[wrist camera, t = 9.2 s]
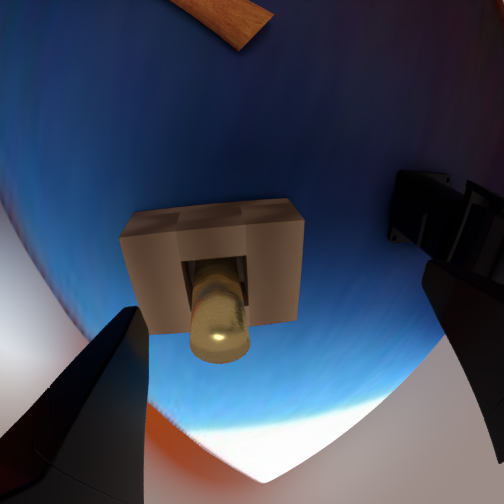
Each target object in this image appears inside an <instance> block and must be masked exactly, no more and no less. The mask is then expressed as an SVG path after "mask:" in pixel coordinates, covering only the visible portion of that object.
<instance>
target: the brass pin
mask: <svg viewBox="0 0 504 504" xmlns="http://www.w3.org/2000/svg"><path fill="white" fill-rule="evenodd" d="M249 347H250V338H249V332H248V326H247V320H246V314H245V309H244V303H243V296H242V290H241V284H240V278H239V272H238V266H237V259H236V256H233V257H223V258H212V259H202V260H195V268H194V281H193V295H192V310H191V328H190V348H191V351H192V352H193V354H194V355H195V356H196V357H198V358H199V359H201V360H203V361H206V362H209V363H215V364H223V363H229V362H233V361H236V360H238V359H240V358H241V357H243V356H244V355H245V354H246V353H247V351H248V350H249Z"/></svg>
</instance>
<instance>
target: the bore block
mask: <svg viewBox="0 0 504 504" xmlns="http://www.w3.org/2000/svg"><path fill="white" fill-rule="evenodd" d="M304 223H305V220H304V219H303V217H302V216H301V215H300V214H299V212H298V211H297V210H296V208H295V207H294V206H293V204H292V203H291V202H290V201H289V199H288V198H282V199H266V200H252V201H238V202H226V203H215V204H204V205H194V206H184V207H175V208H166V209H158V210H150V211H142V212H134V213H133V215H132V217H131V218H130V220H129V221H128V223H127V225H126V226H125V228H124V230H123V231H122V233H121V235H120V236H119V241H120V244H121V248H122V252H123V256H124V259H125V263H126V266H127V270H128V273H129V276H130V280H131V283H132V286H133V289H134V293H135V296H136V299H137V302H138V305H139V308H140V310H141V312H142V315H143V317H144V319H145V322H146V324H147V327H148V330H149V335H153V334H171V333H186V332H190V328H191V310H192V295H193V281H194V268H195V260H202V259H212V258H223V257H233V256H236V259H237V266H238V272H239V278H240V284H241V290H242V296H243V303H244V309H245V314H246V320H247V326H248V327H250V326H258V325H266V324H274V323H281V322H289V321H295V320H297V313H298V302H299V291H300V280H301V267H302V254H303V239H304Z"/></svg>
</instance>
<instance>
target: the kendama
mask: <svg viewBox="0 0 504 504" xmlns="http://www.w3.org/2000/svg"><path fill="white" fill-rule="evenodd" d="M170 1H171V2H173V3H174V4H176V5H177V6H179V7H180V8H182V9H183V10H185V11H186V12H188V13H189V14H191V15H192V16H194V17H195V18H196V19H198V20H199V21H200V22H202V23H203V24H205V25H206V26H207V27H209V28H210V29H211V30H212V31H214V32H215V33H216V34H218V35H219V36H220V37H221V38H223V39H224V40H225V41H226V42H228V43H229V44H230V45H231V46H233V47H234V48H235V49H236V50H237V51H240V50H241V49H242V48H243V47H244V46H245V45H246V43H247V42H248V41H249V40H250V39H251V38H252V37H253V36H254V35H255V34H256V33H257V32H258V31H259V30H260V29H261V28H262V27H263V26H264V25H265V24H266V23H267V22H268V21H269V20H270V19H271V18H272V16H273V15H274V14H272V13H271V12H269V11H267V10H265V9H263V8H262V7H260V6H258V5H256V4H254V3H252V2H250V1H248V0H170Z"/></svg>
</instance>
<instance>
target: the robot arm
mask: <svg viewBox="0 0 504 504" xmlns="http://www.w3.org/2000/svg"><path fill="white" fill-rule="evenodd" d="M403 175H404V178H403ZM446 179H447V180H446ZM450 184H451V176H450V175H448V174H445V173H435V172H424V171H410V170H401V171H400V172H399V173H398V176H397V184H396V191H395V198H394V204H393V210H392V216H391V221H390V227H389V232H388V240H389V241H390V242H391V243H400V242H409V241H411V242H412V243H413V244H414V245H415V246H417V247H419V248H420V249H422V250H423V251H424V252H425V253H426V254H427V255H428V256H429V257H431V258H432V260H429V261H428V262H427V264H426V267H425V271H424V274H423V278H422V287H423V290H424V292H425V294H426V296H427V298H428V300H429V302H430V304H431V306H432V308H433V310H434V313H435V315H436V317H437V319H438V321H439V323H440V325H441V327H442V329H443V331H444V333H445V335H446V336H447V338H448V340H449V342H450V344H451V346H452V348H453V350H454V352H455V354H456V356H457V357H458V360H459V362H460V364H461V366H462V368H463V370H464V372H465V374H466V376H467V379H468V381H469V383H470V385H471V387H472V390H473V392H474V394H475V397H476V399H477V402H478V404H479V407H480V409H481V412H482V415H483V417H484V421H485V423H486V426H487V429H488V432H489V435H490V438H491V441H492V444H493V447H494V450H495V454H496V457H497V461H498V463H499V464H501V463H503V462H504V197H502V196H500V195H499V194H497V193H495V192H493V191H491V190H489V189H487V188H485V187H483V186H480V185H478V184H476V183H474V182H472V181H469V180H467V183H466V186H465V187H466V191H465V194H464V195H463V194H461V193H460V192H458V191H456V190H454V189H452V188H450ZM393 236H394V237H393ZM148 385H149V330H148V327H147V324H146V322H145V319H144V317H143V315H142V312H141V310H140V308H139V307H137V306H130V307H125V308H123V309H122V310H121V311H120V312H119V313H118V314H117V315H116V316H115V317H114V318H113V319H112V320H111V321H110V322H109V323H108V324H107V325H106V326H105V327H104V328H103V329H102V330H101V331H100V332H99V334H98V335H97V336H96V337H95V338H94V339H93V340H92V341H91V342H90V343H89V344H88V345H87V346H86V347H85V348H84V349H83V350H82V351H81V352H80V353H79V355H78V356H77V357H76V358H75V359H74V360H73V361H72V362H71V363H70V364H69V365H68V366H67V367H66V369H65V370H64V371H63V372H62V373H61V374H60V375H59V376H58V377H57V378H56V379H55V381H54V382H53V383H52V384H51V385H50V388H47V390H46V391H45V392H44V393H43V394H42V395H41V396H40V398H39V399H38V400H37V401H36V402H35V403H34V404H33V405H32V406H31V407H30V409H29V410H28V411H27V412H26V413H25V414H24V415H23V416H22V417H21V418H20V419H19V420H18V421H17V422H16V423H15V424H14V425H13V426H12V427H11V428H10V429H9V430H8V431H7V432H6V433H5V434H4V435H3V436H2V437H1V438H0V504H144V483H143V482H144V479H143V478H144V476H143V475H144V472H143V471H144V441H145V422H146V408H147V396H148Z"/></svg>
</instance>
